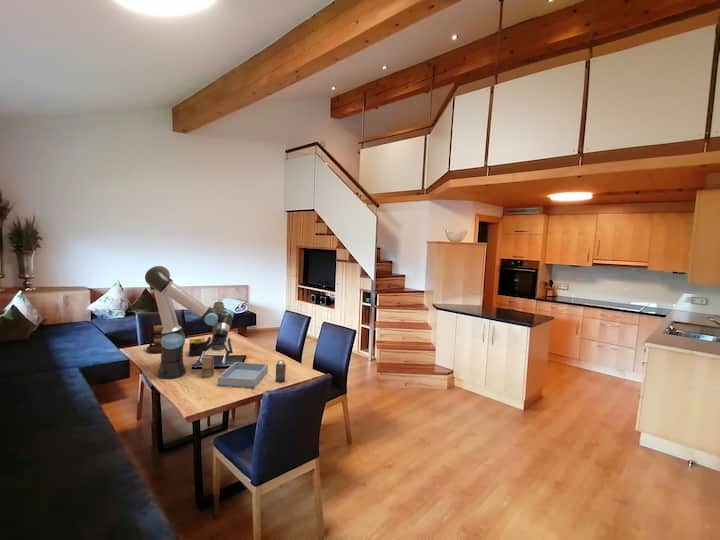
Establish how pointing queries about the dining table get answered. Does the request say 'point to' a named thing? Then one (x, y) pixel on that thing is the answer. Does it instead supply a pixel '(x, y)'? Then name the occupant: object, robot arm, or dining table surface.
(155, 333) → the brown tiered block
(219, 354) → the dining table surface
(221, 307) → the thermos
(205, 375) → the walnut block
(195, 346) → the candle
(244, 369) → the tray
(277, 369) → the pepper mill
